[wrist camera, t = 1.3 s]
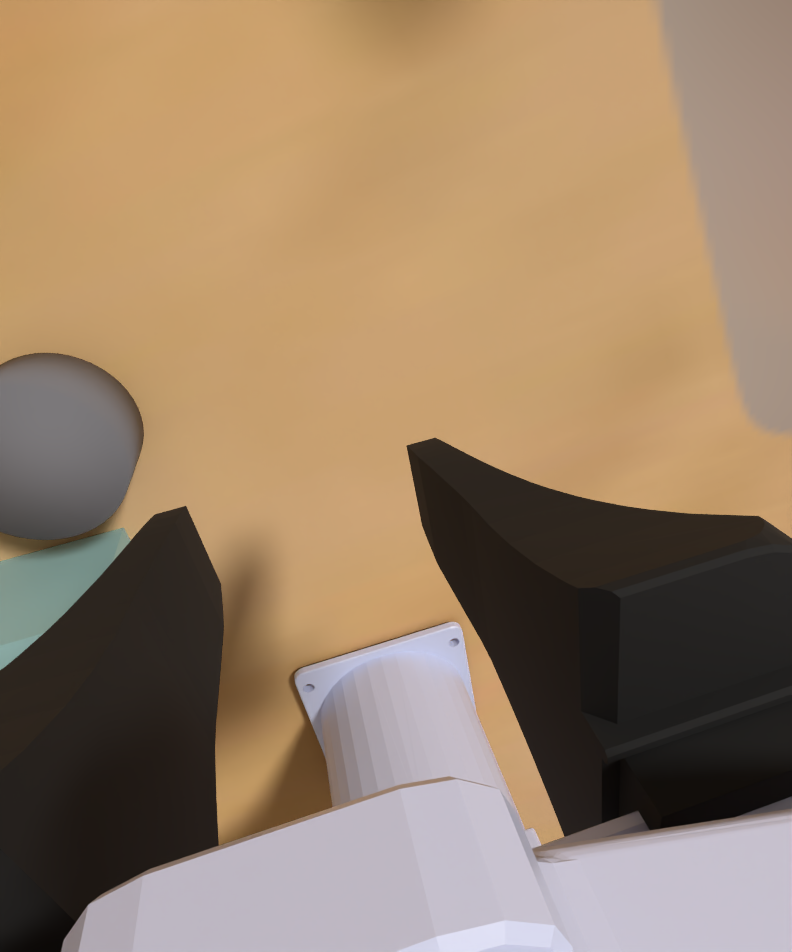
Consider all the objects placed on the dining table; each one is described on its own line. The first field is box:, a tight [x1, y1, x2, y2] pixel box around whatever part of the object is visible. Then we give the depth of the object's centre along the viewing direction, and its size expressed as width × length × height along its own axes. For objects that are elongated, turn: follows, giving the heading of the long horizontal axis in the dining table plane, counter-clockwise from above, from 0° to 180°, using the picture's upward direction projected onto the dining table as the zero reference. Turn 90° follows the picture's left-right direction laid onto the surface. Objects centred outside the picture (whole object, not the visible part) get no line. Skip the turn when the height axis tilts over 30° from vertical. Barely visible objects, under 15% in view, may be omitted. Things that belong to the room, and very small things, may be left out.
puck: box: [0, 353, 144, 540], centre depth 18 cm, size 5×5×3 cm
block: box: [0, 528, 130, 670], centre depth 20 cm, size 4×4×5 cm
